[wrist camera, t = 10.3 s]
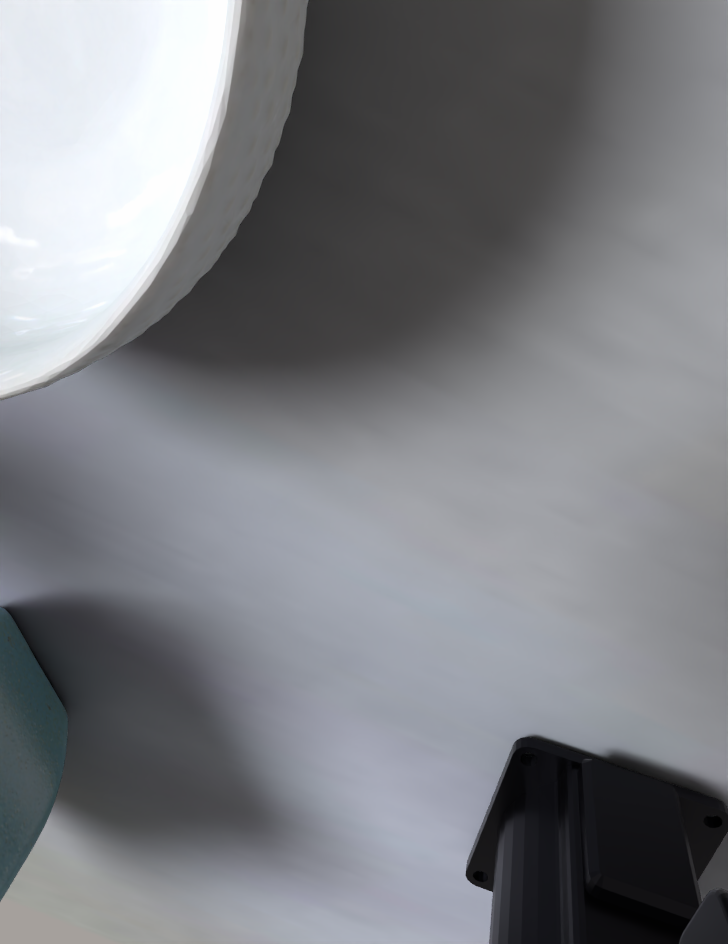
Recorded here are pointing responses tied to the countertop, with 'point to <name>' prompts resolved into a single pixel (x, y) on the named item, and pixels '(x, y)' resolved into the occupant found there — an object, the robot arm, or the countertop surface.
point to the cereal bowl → (127, 162)
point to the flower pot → (26, 749)
